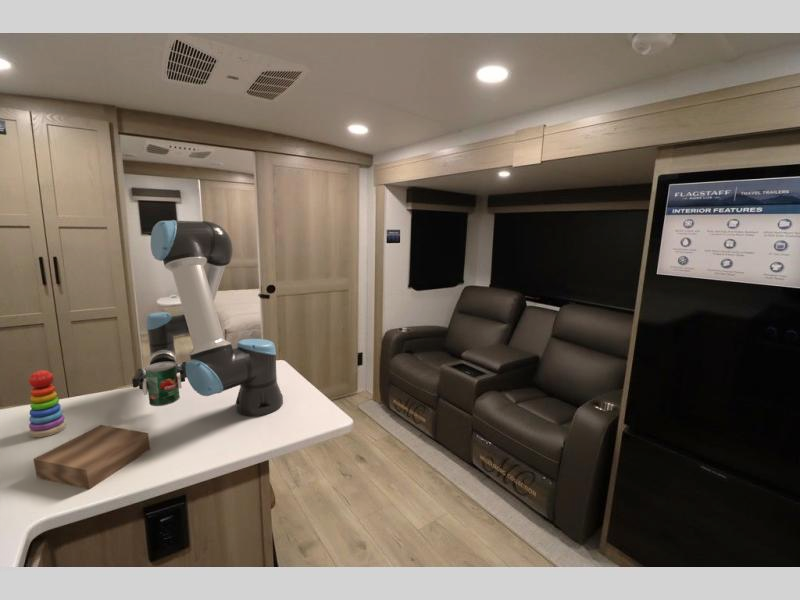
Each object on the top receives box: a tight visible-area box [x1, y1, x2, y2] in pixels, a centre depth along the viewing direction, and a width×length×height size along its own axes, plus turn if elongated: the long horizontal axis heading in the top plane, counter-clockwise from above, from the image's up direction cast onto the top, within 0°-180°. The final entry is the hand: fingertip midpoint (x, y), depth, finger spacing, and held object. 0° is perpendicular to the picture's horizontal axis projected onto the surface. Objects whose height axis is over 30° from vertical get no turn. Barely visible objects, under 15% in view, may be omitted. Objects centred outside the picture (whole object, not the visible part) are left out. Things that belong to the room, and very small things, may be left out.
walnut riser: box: [33, 424, 151, 490], centre depth 94 cm, size 16×16×5 cm
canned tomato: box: [144, 362, 181, 407], centre depth 111 cm, size 8×8×11 cm
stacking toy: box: [28, 369, 67, 438], centre depth 106 cm, size 8×8×19 cm
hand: (162, 387), depth 106 cm, fingers closed on canned tomato, 8 cm apart
